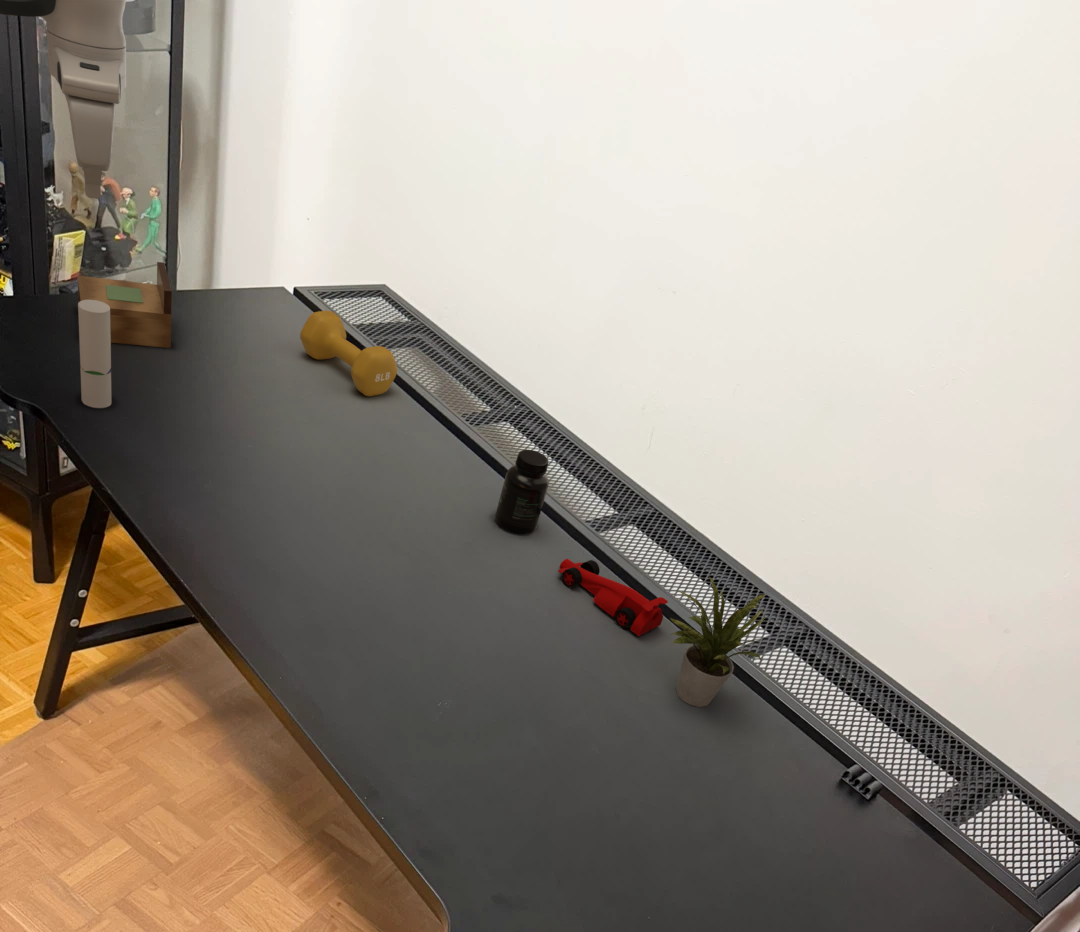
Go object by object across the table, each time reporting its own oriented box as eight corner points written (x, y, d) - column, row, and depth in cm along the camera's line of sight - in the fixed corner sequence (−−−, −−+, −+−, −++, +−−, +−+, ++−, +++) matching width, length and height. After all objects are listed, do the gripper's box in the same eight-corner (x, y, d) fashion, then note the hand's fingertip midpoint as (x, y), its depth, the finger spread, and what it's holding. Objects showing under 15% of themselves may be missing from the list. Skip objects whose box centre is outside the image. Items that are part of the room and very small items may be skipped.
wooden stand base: (82, 340, 171) (80, 280, 164) (78, 309, 178) (76, 251, 172) (170, 348, 176) (171, 291, 170) (163, 318, 184) (164, 262, 178)
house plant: (679, 644, 150) (719, 552, 139) (757, 695, 145) (805, 604, 135) (628, 681, 140) (668, 585, 129) (711, 737, 136) (759, 642, 125)
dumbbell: (397, 394, 186) (405, 352, 181) (359, 402, 180) (365, 358, 175) (332, 348, 193) (338, 306, 188) (293, 353, 187) (298, 310, 182)
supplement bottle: (494, 508, 165) (511, 442, 157) (534, 517, 166) (554, 451, 159) (494, 530, 160) (512, 463, 152) (536, 539, 161) (556, 473, 153)
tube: (75, 398, 157) (71, 302, 147) (99, 392, 160) (96, 297, 150) (94, 410, 155) (91, 314, 146) (117, 404, 158) (116, 310, 149)
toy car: (574, 564, 159) (583, 537, 155) (660, 627, 152) (671, 600, 149) (549, 574, 155) (558, 547, 151) (636, 639, 148) (647, 612, 145)
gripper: (56, 36, 130) (62, 153, 139) (61, 81, 117) (67, 207, 126) (110, 47, 133) (111, 161, 142) (120, 93, 120) (122, 215, 129)
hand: (91, 183), depth 134 cm, fingers open, 8 cm apart
